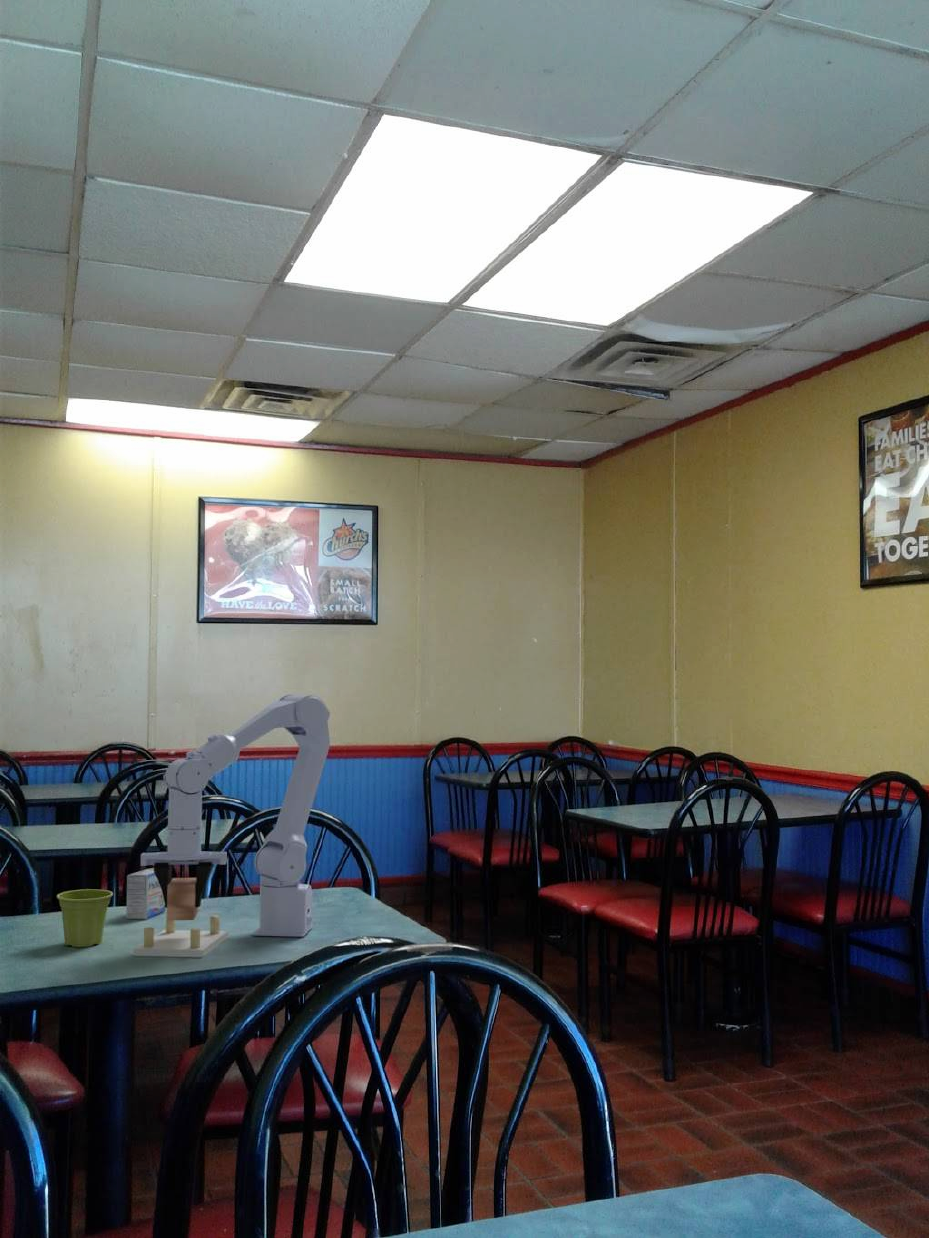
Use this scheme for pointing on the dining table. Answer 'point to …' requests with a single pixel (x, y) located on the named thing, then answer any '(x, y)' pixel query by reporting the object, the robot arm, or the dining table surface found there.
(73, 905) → the plant pot
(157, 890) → the medicine box
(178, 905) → the board block
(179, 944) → the standoff plate
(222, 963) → the dining table surface
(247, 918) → the dining table surface
